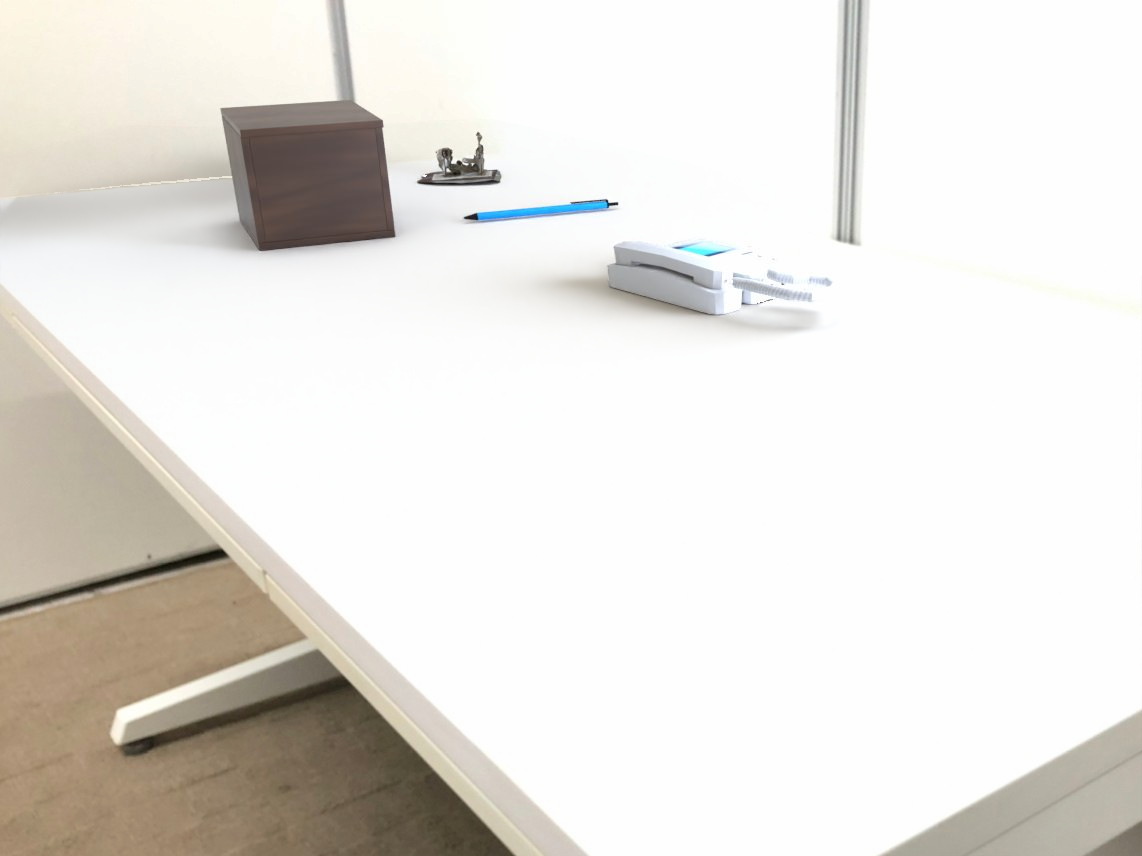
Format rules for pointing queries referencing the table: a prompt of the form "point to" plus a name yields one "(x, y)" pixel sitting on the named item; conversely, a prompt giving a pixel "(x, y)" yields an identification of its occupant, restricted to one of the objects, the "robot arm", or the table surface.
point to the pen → (542, 210)
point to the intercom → (714, 275)
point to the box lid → (299, 118)
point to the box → (311, 187)
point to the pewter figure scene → (461, 168)
